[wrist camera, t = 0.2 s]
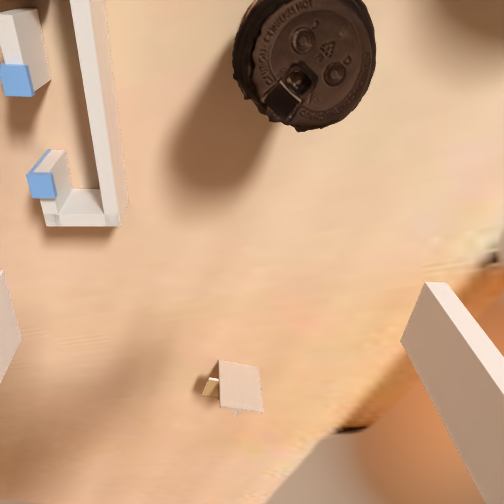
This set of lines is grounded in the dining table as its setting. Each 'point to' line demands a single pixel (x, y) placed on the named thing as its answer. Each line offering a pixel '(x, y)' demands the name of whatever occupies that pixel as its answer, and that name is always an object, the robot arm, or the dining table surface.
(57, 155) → the white u-shaped bracket
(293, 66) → the coffee cup
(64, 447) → the dining table surface
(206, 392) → the architectural model
